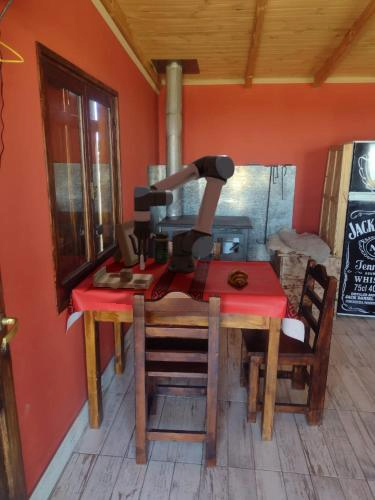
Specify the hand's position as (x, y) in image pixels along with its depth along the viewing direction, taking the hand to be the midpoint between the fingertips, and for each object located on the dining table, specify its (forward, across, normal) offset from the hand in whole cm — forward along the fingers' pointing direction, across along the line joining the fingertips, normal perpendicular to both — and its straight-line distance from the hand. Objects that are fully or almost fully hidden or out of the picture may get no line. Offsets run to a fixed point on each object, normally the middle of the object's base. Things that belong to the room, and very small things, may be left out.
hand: (142, 268), depth 171 cm
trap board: (+9, +10, -4) cm, 14 cm away
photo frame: (+9, +18, -44) cm, 49 cm away
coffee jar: (+9, -2, -46) cm, 47 cm away
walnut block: (+7, +8, -2) cm, 11 cm away
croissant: (+9, -46, -14) cm, 49 cm away
